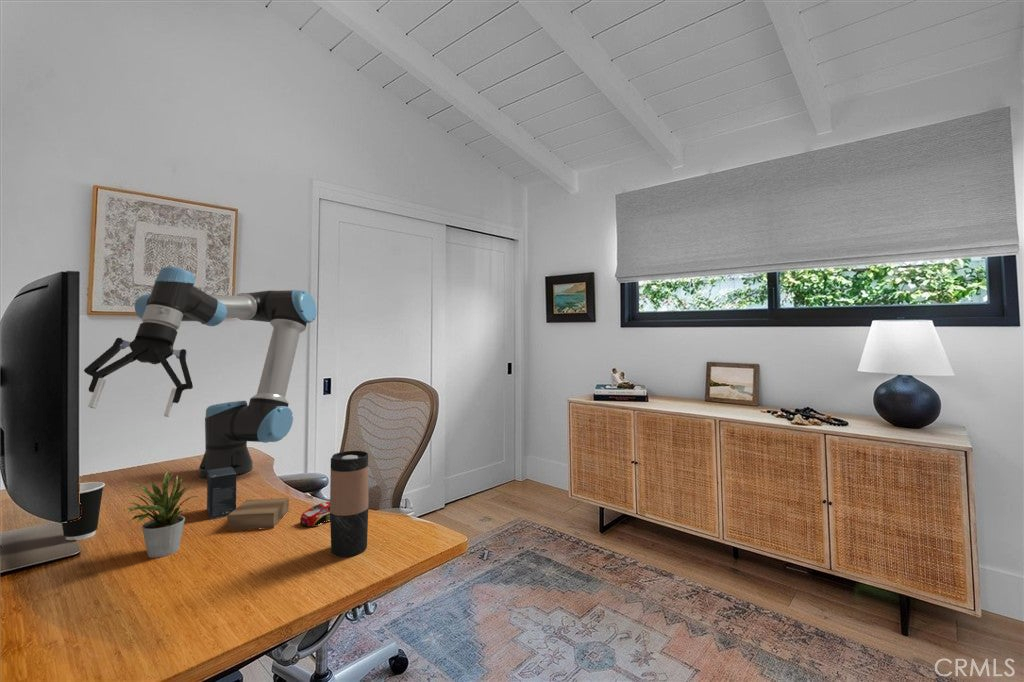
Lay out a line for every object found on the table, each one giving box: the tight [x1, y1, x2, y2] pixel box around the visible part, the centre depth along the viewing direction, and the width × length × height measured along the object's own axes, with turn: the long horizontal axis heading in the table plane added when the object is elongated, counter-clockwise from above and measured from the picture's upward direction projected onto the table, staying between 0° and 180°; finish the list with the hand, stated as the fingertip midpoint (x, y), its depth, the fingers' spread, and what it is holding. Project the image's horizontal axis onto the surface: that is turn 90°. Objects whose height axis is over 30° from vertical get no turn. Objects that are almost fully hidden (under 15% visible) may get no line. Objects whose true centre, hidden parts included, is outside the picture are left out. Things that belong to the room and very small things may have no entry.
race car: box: [299, 501, 330, 527], centre depth 111 cm, size 13×5×4 cm, turn 143°
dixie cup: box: [61, 481, 106, 541], centre depth 100 cm, size 8×8×11 cm
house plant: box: [119, 471, 199, 559], centre depth 93 cm, size 14×14×16 cm
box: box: [206, 467, 237, 520], centre depth 114 cm, size 8×6×11 cm
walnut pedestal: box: [227, 497, 290, 531], centre depth 108 cm, size 10×10×4 cm
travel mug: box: [329, 450, 369, 558], centre depth 94 cm, size 8×8×20 cm
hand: (130, 412), depth 102 cm, fingers open, 13 cm apart
